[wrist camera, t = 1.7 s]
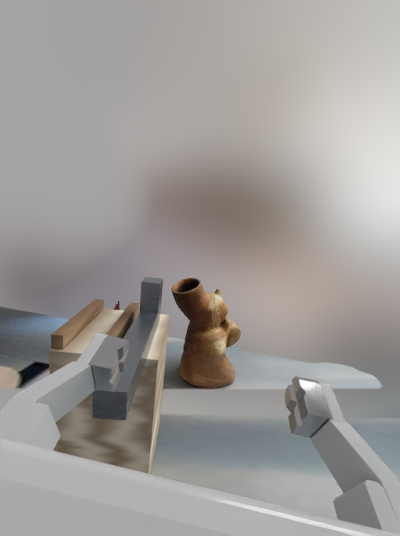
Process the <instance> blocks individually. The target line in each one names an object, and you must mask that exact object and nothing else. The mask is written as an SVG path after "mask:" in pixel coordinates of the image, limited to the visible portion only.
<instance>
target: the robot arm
mask: <svg viewBox="0 0 400 536" xmlns="http://www.w3.org/2000/svg"><path fill="white" fill-rule="evenodd" d="M128 346H129V340H126V339H122V338H118V337H114V336H110V335H106V334H101V333H98V334H96V335H95V336H94V338H93V339H92V340H91V342H90V343H89V345H88V346H87V347H86V349H85V350H84V352H83V353H82V354H81V356H80V357H79V359H78V360H77V361H76V362H74V361H73V362H71V363H69V364H67V365H66V366H64V367H62V368H61V369H59V370H57V371H55V372H54V373H52V374H50V375H48V376H47V377H45V378H43V379H41V380H40V381H38V382H36V383H35V384H33V385H31V386H29V387H28V388H26V389H24V390H23V391H21V392H19V393H18V394H16V395H14V396H13V397H12V398H11V399H10V400H9V402H8V403H7V404H6V405H5V406H4V407H3V408H2V409H1V411H0V536H400V480H399V479H398V478H397V477H396V476H395V475H394V473H393V472H392V471H391V470H390V469H389V468H388V467H387V466H386V464H385V463H384V462H383V461H382V460H381V459H380V458H379V457H378V456H377V454H376V453H375V452H374V451H373V450H372V449H371V448H370V447H369V445H368V444H367V443H366V442H365V441H364V440H363V439H362V438H361V436H360V435H359V434H358V433H357V432H356V431H355V430H354V429H353V427H352V426H351V425H350V424H349V423H346V422H345V420H344V417H343V415H342V412H341V410H340V407H339V405H338V402H337V400H336V397H335V395H334V392H333V390H332V387H331V386H330V385H329V384H328V383H323V382H318V381H315V380H311V379H306V378H301V377H294V378H293V380H292V383H293V384H292V385H289V386H288V387H287V389H286V393H285V402H286V407H287V408H288V410H289V411H290V412H291V413H290V415H289V417H288V418H289V423H290V428H291V433H292V434H296V435H300V436H304V437H308V438H311V439H310V440H311V441H312V443H313V445H314V446H315V448H316V449H317V451H318V453H319V454H320V456H321V457H322V459H323V461H324V462H325V464H326V465H327V467H328V469H329V470H330V472H331V473H332V475H333V477H334V478H335V480H336V481H337V483H338V485H339V486H340V488H341V489H342V491H343V494H342V495H340V496H338V497H337V498H335V500H334V501H333V503H334V506H335V510H336V514H337V518H338V519H334V518H330V517H326V516H322V515H318V514H314V513H310V512H305V511H301V510H297V509H293V508H289V507H285V506H281V505H276V504H272V503H268V502H264V501H260V500H256V499H252V498H247V497H243V496H239V495H235V494H231V493H227V492H223V491H218V490H214V489H210V488H206V487H202V486H198V485H194V484H189V483H185V482H181V481H177V480H173V479H169V478H165V477H160V476H156V475H152V474H148V473H144V472H140V471H136V470H131V469H127V468H123V467H119V466H115V465H111V464H107V463H102V462H98V461H94V460H90V459H86V458H82V457H78V456H73V455H69V454H65V453H61V452H57V451H53V449H54V447H55V445H56V444H57V442H58V440H59V438H60V432H59V430H58V427H57V425H56V422H57V421H58V420H60V419H61V418H62V417H63V416H64V415H66V414H67V413H68V412H69V411H70V410H72V409H73V408H74V407H75V406H77V405H78V404H79V403H80V402H81V401H83V400H84V399H85V398H86V397H87V396H89V395H90V394H91V393H92V392H93V391H95V389H99V390H104V391H109V392H114V390H115V388H116V386H117V383H118V381H119V379H120V372H122V371H123V370H124V369H125V367H126V365H127V361H128V358H129V350H128Z"/></svg>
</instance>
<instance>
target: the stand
mask: <svg viewBox="0 0 400 536" xmlns="http://www.w3.org/2000/svg"><path fill="white" fill-rule="evenodd" d="M103 305H104V300H99V299H95V300H94V301H93V302H91V303H90V304H89V305H88V306H87V307H85V308H84V309H83V310H82V311H80V312H79V313H78V314H76V315H75V316H74V317H73V318H71V319H70V320H69V321H68V322H66V323H65V324H64V325H63V326H61V327H60V328H59V329H58V330H56V331H55V332H54V333H53V334H51V347H52V349H50V350H49V364H50V374H52V373H54V372H55V371H57V370H59V369H61V368H62V367H64V366H66V365H67V364H69V363H71V362H73V361H74V362H76V361H77V360H78V359H79V357H80V356H81V354H82V353H83V352H84V350H85V349H86V347H87V346H88V345H89V343H90V342H91V340H92V339H93V338H94V336H95V335H96V334H98V333H101V334H106V335H110V336H114V337H118V338H122V339H123V338H124V337H125V335H126V333H127V332H128V330H129V328H130V327H131V325H132V323H133V322H134V320H135V318H136V316H137V315H138V313H139V312H138V303H130V304H129V305H128V307H127V308H126V309H125V310H124V311H122V310H111V309H104V306H103ZM168 327H169V315H164V314H160V321H159V324H158V327H157V330H156V333H155V336H154V339H153V342H152V345H151V348H150V351H149V354H148V357H147V360H146V363H145V365H144V368H143V371H142V374H141V377H140V380H139V383H138V386H137V389H136V392H135V395H134V398H133V401H132V404H131V407H130V410H129V413H128V416H127V419H126V420H113V419H99V418H92V407H93V392H92V393H91V394H90V395H89V396H87V397H86V398H85V399H84V400H83V401H81V402H80V403H79V404H78V405H77V406H75V407H74V408H73V409H72V410H70V411H69V412H68V413H67V414H66V415H64V416H63V417H62V418H61V419H60V420H58V421H57V422H56V425H57V427H58V430H59V432H60V438H59V440H58V442H57V444H56V445H55V447H54V449H53V451H57V452H61V453H65V454H69V455H73V456H78V457H82V458H86V459H90V460H94V461H98V462H102V463H107V464H111V465H115V466H119V467H123V468H127V469H131V470H136V471H140V472H144V473H148V474H151V472H152V466H153V460H154V454H155V448H156V442H157V436H158V430H159V424H160V413H161V402H162V391H163V381H164V370H165V359H166V348H167V337H168Z"/></svg>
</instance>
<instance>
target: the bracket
mask: <svg viewBox="0 0 400 536" xmlns="http://www.w3.org/2000/svg"><path fill="white" fill-rule="evenodd" d="M162 284H163V279H159V278H149V277H145V279H144V280H143V281H142V284H141V300H140V301H141V302H140V311H139V313H138V315H137V316H136V318H135V320H134V322H133V323H132V325H131V327H130V328H129V330H128V332H127V333H126V335H125V337H124V338H123V339H126V340H129V346H128V350H129V358H128V361H127V365H126V367H125V369H124V370H123V371H122V372H120V379H119V381H118V383H117V386H116V388H115V390H114V392H109V391H104V390H99V389H95V391H93V407H92V418H99V419H113V420H126V419H127V416H128V413H129V410H130V407H131V404H132V401H133V398H134V395H135V392H136V389H137V386H138V383H139V380H140V377H141V374H142V371H143V368H144V365H145V363H146V360H147V357H148V354H149V351H150V348H151V345H152V342H153V339H154V336H155V333H156V330H157V327H158V324H159V321H160V309H161V297H162Z"/></svg>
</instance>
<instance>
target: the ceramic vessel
mask: <svg viewBox="0 0 400 536" xmlns="http://www.w3.org/2000/svg"><path fill="white" fill-rule="evenodd" d="M172 293H173V296H174V299H175V301H176V303H177V305H178V307H179V308H180V309H181V311H182V312H183V313H184V314H185V316H187V318H188V319H189V320H190V323H189V325H188V330H187V334H186V337H185V344H184V352H183V354H182V357H181V364H180V367H179V374H180V375H181V376H182V377H183V378H184V379H185V380H186V381H187V382H188V383H190V384H191V385H194V386H197V387H202V388H217V387H221V386H225V385H229V384H231V383H232V382H233V381H234V378H235V374H234V370H233V367H232V365H231V363H230V362H229V360H228V359H227V357H226V356H225V350H226V348H227V347H229V346H232V345H233V344H235V343H236V342H237V341H238V339H239V338H240V335H241V331H240V329H239V327H238V326H237V325H236V324H235V323H234V322H232V321H230V320H229V319H228V318H227V317H226V315H227V313H228V308H227V306H226V304H225V303H224V302H223V300H222V298H221V291H220V290H219V289H217V290H216V291H215V293H205V292H204V290H203V286H202V284H201V281H200V280H199V279H196V278H187V279H183V280H180V281H178V282H176V283H175V284H174V286H173V287H172Z"/></svg>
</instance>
